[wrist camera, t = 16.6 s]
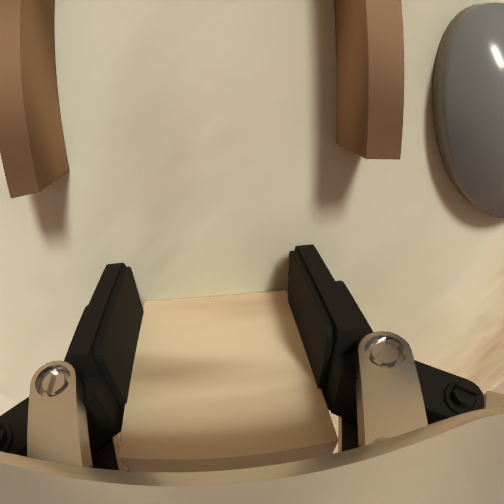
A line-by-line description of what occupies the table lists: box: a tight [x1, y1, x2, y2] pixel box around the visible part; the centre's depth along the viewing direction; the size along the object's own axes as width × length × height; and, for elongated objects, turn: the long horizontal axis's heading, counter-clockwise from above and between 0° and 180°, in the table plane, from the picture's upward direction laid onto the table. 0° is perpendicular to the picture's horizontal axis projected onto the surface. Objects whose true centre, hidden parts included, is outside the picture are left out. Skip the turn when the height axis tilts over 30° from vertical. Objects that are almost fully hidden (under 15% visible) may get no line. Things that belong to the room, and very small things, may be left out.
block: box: [118, 290, 338, 472], centre depth 10 cm, size 5×5×6 cm
